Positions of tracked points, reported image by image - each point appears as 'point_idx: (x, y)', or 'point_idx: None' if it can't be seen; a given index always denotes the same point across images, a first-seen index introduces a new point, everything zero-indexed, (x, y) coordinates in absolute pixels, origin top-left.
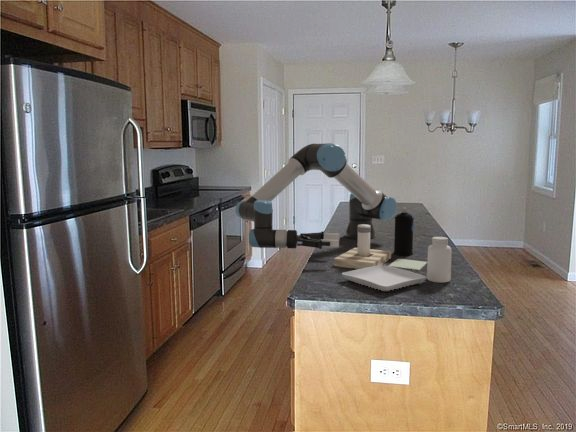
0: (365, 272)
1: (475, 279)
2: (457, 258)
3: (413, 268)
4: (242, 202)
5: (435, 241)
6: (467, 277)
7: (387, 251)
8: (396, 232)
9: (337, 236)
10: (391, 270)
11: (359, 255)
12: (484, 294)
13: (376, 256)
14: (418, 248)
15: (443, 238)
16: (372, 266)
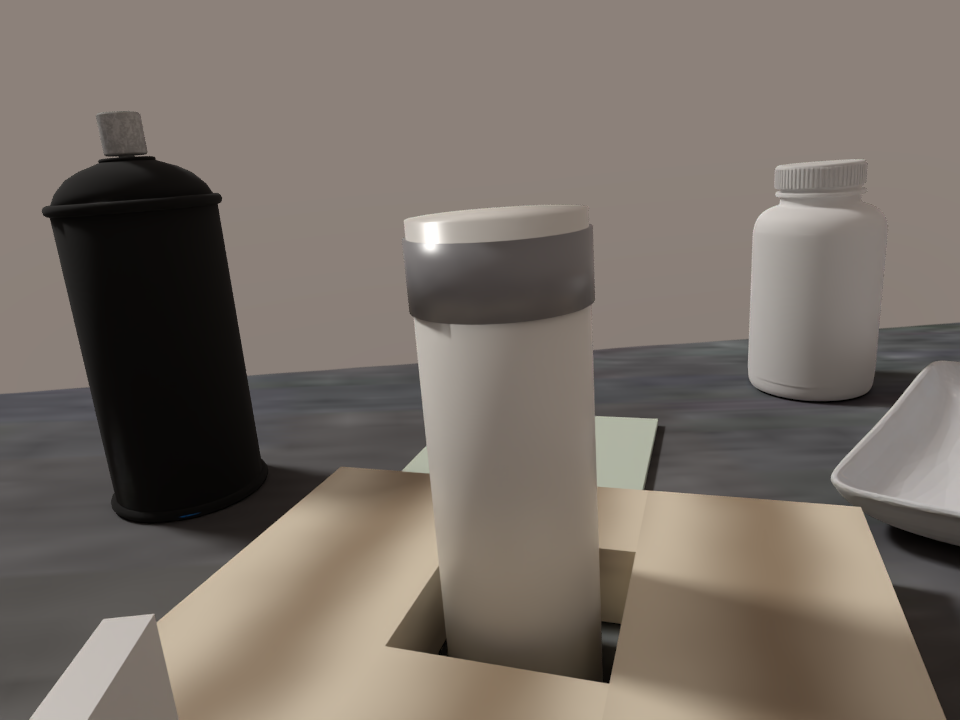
0: None
1: (708, 343)
2: (352, 371)
3: (648, 432)
4: None
5: (865, 175)
6: (691, 351)
7: (342, 480)
8: (174, 332)
9: (143, 715)
10: (888, 460)
11: (589, 619)
12: (908, 330)
13: None
14: (62, 450)
15: (827, 161)
16: None
